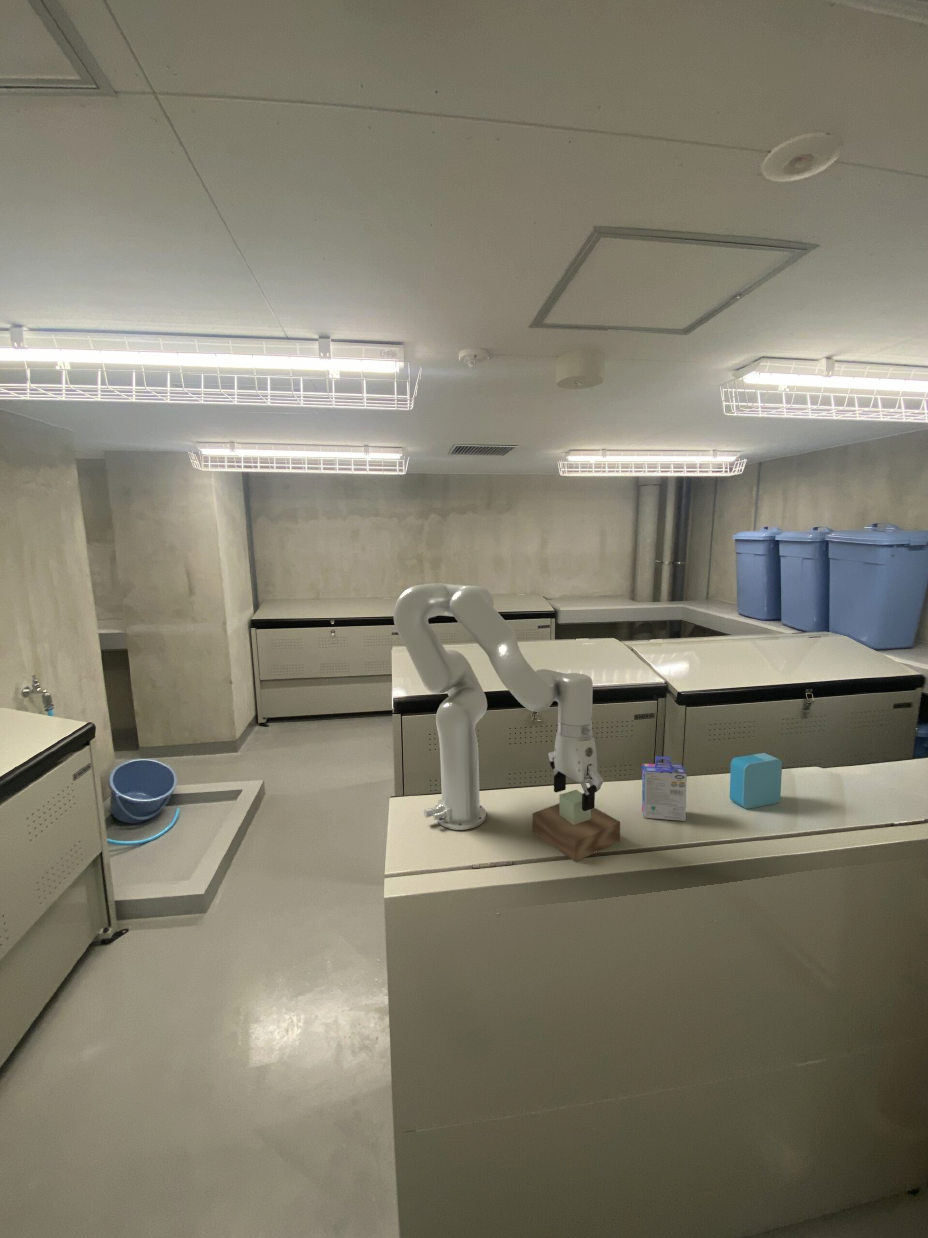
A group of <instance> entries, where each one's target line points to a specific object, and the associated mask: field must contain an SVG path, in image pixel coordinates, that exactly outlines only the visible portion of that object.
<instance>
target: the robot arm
mask: <svg viewBox="0 0 928 1238" xmlns="http://www.w3.org/2000/svg"><path fill="white" fill-rule="evenodd" d="M494 603H495V602H494V597H493V596H492V594H491V592H490V591H489V590H488V589H486V588H485V587H483V586H479V585H461V584H452V583H440V582H438V583H435V582H434V583H425V584H417V585H413V586H410V587H409V588H407V589H405V590H404V591H403V592H402V593H401V594H400V596H399V597H398V598H397V600H396V601H395V605H394V609H393V623H394V627H395V629H396V632H397V633H398V635H399V637H400V639H401V641H402V643H403V645H404V646H405V649H406V651H407V653H408V655H409V657H410V659H411V661H412V663H413V665H414V667H415V670H416V671H417V673H418V675H419V678H420V679H421V682H422V683H423V685H424V687H425V688H426V690H427V691H428V692H430V693H431V694H434V695H441V694H445V693H446V694H447V695H448V697H446V698H445V699H444V700H443V701H442V702H441V703H440V704H439V707H438V708H437V711H436V714H435V724H436V728H437V729H436V730H437V735H438V740H439V758H440V781H441V782H440V783H441V799H438V800H437V804H436V805H435V806H433V807H429V808H426V809H424V810H423V816H424V817H425V819H428V818H430V817H432V819H433V821H437V823H438V824H439V825H440V826H442V827H443V828H446V829H450V830H456V831H465V830H470V829H471V830H472V829H474V828H476V827H479V826H480V825H482V824H483V823H484V822H485V821H486V818H487V812H486V809H485V807H484V806H483V805H481V804H480V803H481V801H480V771H479V769H480V767H479V766H480V765H479V760H480V759H479V744H478V737H477V733H476V725H477V723H478V722H479V721H480V720H481V719H482V718H483V717H484V716H485V714H486V712H487V708H488V700H487V696H486V694H485V692H484V690H483V687H482V686H481V684H480V681H479V679H478V677H477V675H476V674H475V672H474V670H473V668H472V666H471V664H470V662H469V661H468V659H467V657H465V656H464V654H462V653H461V652H460V651H458V650H455V649H445V647H444V645H443V643H442V640H441V638H440V637H439V634H438V633H437V632H436V630H435V629H434V628H433V627H432V626H431V625H430V623H429V619H432V618H436V617H437V616H442V617H443V616H444V617H454V618H455V620H456V621H457V622H458V623H459V624H460V626H461V627H462V628H463V629H464V630H465V631H466V632H467V633H468V634H469V635H470V637H472V639H473V640H474V641H475V642H476V643H477V645H478V646H480V648H481V649H482V650H483V651H484V652H485V654H486V655H487V657H488V659H489V662H490V664H491V665H492V667H493V669H494V671H495V673H496V675H497V677H498V679H499V680H500V681H501V683H502V685H504V687H505V688H506V690H508V691H509V692H510V694H511V695H512V696H513V697H514V698H515V699H516V700H517V702H518V703H520V705H522V706H523V707H525V708H526V709H527V710H529V711H531V712H543V711H546V710H547V709H548V708H550V706H551V705H552V704H553V702H557V731H556V735H555V740H554V750H553V751H551V752H548V754H547V755H548V758H549V765H550V767H551V769H552V771H551V773H552V775H553V792H554V793H555V794H556V793H560V792H563V791H566V789H567V777H568V778H570V779H571V780H573V781H575V782H576V783H579V784H580V786H581V788H582V791H583V792H581V793H582V810H583V811H587V810H590V809H593V808H596V807H595V802H596V801H595V799H596V798H595V797H596V793H598V791H600V790H601V787H602V785H603V784H604V778H603V777H602V776H601V774H600V773H599V772H598V758H597V757H598V756H597V746H596V742H595V738H594V737H593V735H594V734H593V733H594V731H593V730H592V728H593V694H594V693H593V692H594V691H593V689H594V688H593V687H594V686H593V685H594V683H593V680H592V678H591V676H589V675H587V674H584V673H579V672H568V673H566V672H559V671H556V670H551V669H547V668H546V669H545V668H544V669H537V670H536V671H535V669H534V668H533V667H532V666H531V665H530V664H529V663H528V661H527V660H526V659H525V657H524V655H523V654H522V652H521V649H520V646H519V644H518V643H519V642H518V638H517V634H516V632H515V630H514V628H513V627H512V626H511V625H510V624H509V623H508V622H507V620H505V619H504V618H503V616H501V614H500V613H499V612H498V611H497V610H496V609H495V608H494V605H495V604H494ZM587 783H588V785H589V787H588V785H587Z"/></svg>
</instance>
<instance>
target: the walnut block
mask: <svg viewBox="0 0 928 1238" xmlns="http://www.w3.org/2000/svg"><path fill="white" fill-rule="evenodd" d="M532 832H533V833H534V834H535V835H537V836H538V837H540V838H541V839H543V840H544V841H545V842H547V843H548V844H549V845H551V846H552V847H553V848H555V849H556V850H558V851H559V852H560V853H562V854H563V855H565V856H566V857H568V858H569V859H570V860H572V861H573V862H575V863H576V862H578V861H580V860H582V859H585V858H587V857H588V856H591V855H593V854H595V853H597V852H600V851H601V850H603V849H606V848H608V847H610V846H612V845H614V844H617V843H618V842H620V841H621V821H620V820H617V819H616V818H614V817H613V816H611V815H609V814H607V813H605V812H603V811H601V810H600V809H598V808H596V807H594V808H593V809H591V819H590V820H587V821H584V822H581V823H578V824H575V825H573V824H571V823H570V822H569V821H567V820H566V819H564V818H563V817H562V816H560V805H559V803H557V804H553V805H550V806H549V807H545V808H543V809H541V810H539V811H536V812H532ZM596 851H597V852H596ZM594 852H595V853H594Z"/></svg>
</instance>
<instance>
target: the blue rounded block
mask: <svg viewBox="0 0 928 1238" xmlns="http://www.w3.org/2000/svg"><path fill="white" fill-rule="evenodd" d="M782 768H783V762H782V760H781V759H780V758H777V757H775V756H773V755H770V754H767V753H766V752H762V753H756V754H750V755H748V754H747V755H744V756H737V757H733V758H732V759H731V762H730V771H729V772H730V778H729V799H730V801H731V802H733V803H735V804H737V805H738V806H740V807H742V808H744V809H745V810H748V809H755V808H760V807H764V806H769V805H770V806H771V805H775V804H777V803H779V802H780V800H781V794H782V776H783V775H782V774H783V769H782Z"/></svg>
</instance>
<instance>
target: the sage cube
mask: <svg viewBox="0 0 928 1238" xmlns="http://www.w3.org/2000/svg"><path fill="white" fill-rule="evenodd" d="M582 793H583V792H581V791H579V790H578V789H573V790H570V791H568V792H564V793H561V794H559V796H558V797H559V798H558V799H559V803H558V804H559V805H560V816H562V817H563V818H564V819H566V820H567V821H569V822H570V823H571V824H573V825H575V824H578V823H581V822H584V821H587V820H590V819H591V809H590V810H587V811H583V810H582Z"/></svg>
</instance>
